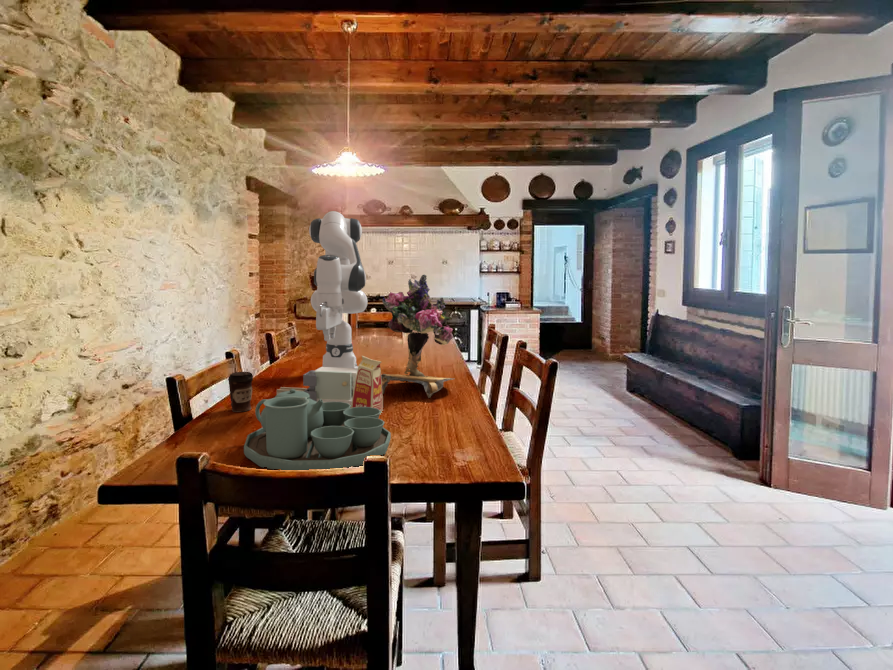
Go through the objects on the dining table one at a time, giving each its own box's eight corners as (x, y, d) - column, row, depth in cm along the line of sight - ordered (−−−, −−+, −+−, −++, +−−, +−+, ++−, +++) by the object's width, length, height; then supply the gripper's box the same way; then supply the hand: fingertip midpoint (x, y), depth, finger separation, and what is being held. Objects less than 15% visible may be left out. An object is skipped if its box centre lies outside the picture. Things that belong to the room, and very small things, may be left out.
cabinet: (317, 394, 218) (317, 366, 217) (361, 396, 217) (361, 368, 215) (303, 404, 202) (303, 374, 201) (351, 406, 201) (351, 376, 200)
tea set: (392, 472, 141) (392, 409, 138) (227, 477, 136) (224, 410, 134) (389, 426, 180) (389, 376, 178) (260, 428, 175) (259, 376, 173)
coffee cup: (259, 410, 194) (258, 373, 192) (236, 414, 188) (235, 376, 186) (247, 405, 200) (246, 369, 198) (224, 409, 194) (223, 372, 192)
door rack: (281, 394, 216) (281, 387, 216) (306, 395, 216) (306, 388, 215) (276, 397, 212) (276, 389, 211) (302, 398, 211) (302, 390, 211)
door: (310, 396, 206) (310, 370, 205) (351, 398, 205) (351, 371, 203) (307, 399, 203) (307, 371, 201) (349, 400, 201) (349, 373, 200)
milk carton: (350, 415, 190) (350, 357, 188) (363, 408, 199) (363, 353, 196) (374, 418, 187) (374, 359, 185) (386, 411, 196) (387, 355, 193)
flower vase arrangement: (455, 368, 257) (465, 277, 236) (452, 426, 218) (464, 322, 197) (383, 361, 257) (386, 269, 236) (367, 418, 217) (370, 314, 197)
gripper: (329, 303, 189) (329, 344, 191) (345, 299, 209) (345, 335, 211) (311, 303, 189) (311, 343, 191) (328, 298, 209) (329, 335, 211)
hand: (329, 339), depth 201 cm, fingers open, 4 cm apart
